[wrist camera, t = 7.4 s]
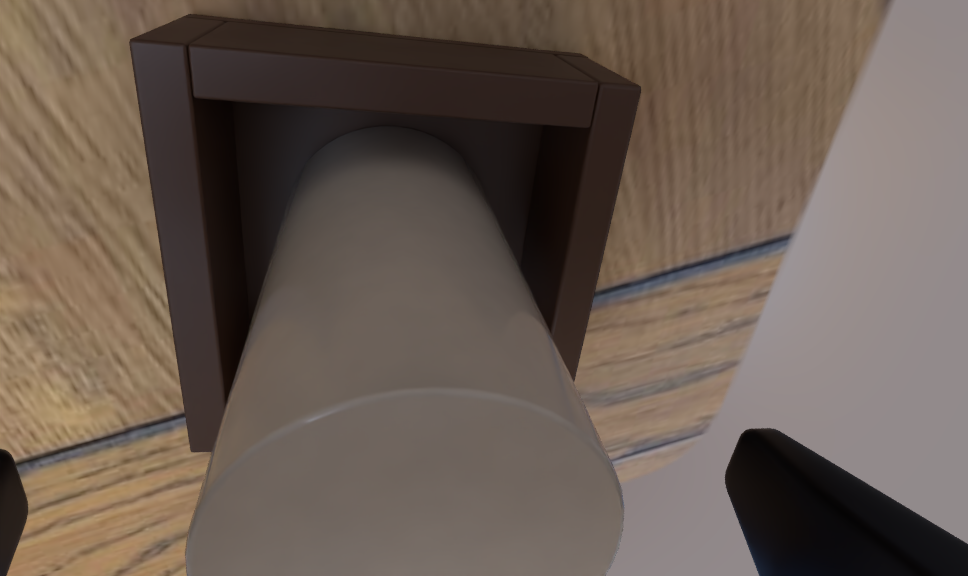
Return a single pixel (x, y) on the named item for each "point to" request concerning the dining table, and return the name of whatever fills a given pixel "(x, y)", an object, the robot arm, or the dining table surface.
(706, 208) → the dining table surface
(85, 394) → the dining table surface
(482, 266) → the canister
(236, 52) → the holder
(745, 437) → the robot arm
